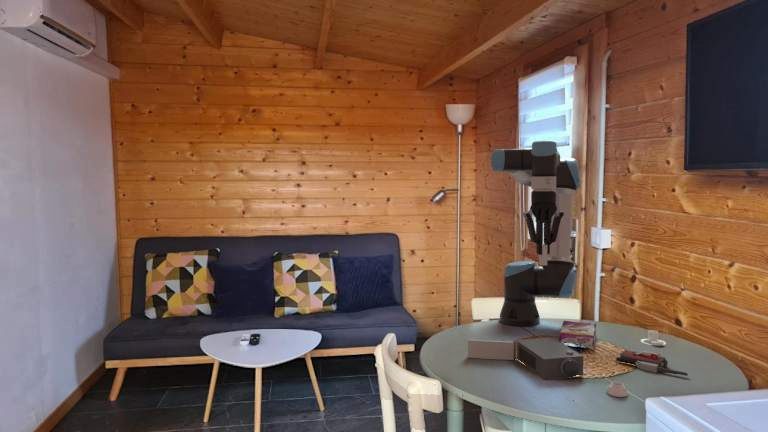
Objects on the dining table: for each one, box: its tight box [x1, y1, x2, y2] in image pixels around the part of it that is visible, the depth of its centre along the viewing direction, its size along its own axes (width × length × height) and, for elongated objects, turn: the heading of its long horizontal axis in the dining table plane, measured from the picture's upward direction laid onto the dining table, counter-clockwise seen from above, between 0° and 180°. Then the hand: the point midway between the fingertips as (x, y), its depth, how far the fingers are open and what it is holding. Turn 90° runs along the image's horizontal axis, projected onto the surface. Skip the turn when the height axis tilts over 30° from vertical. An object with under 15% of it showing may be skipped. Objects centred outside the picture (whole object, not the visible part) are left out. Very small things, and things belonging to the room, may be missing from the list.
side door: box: [467, 339, 517, 361], centre depth 176 cm, size 15×1×6 cm, turn 78°
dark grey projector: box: [516, 337, 584, 381], centre depth 167 cm, size 20×12×7 cm, turn 11°
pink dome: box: [606, 381, 629, 398], centre depth 148 cm, size 5×3×5 cm
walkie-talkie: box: [615, 349, 689, 377], centre depth 167 cm, size 9×4×20 cm
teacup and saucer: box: [639, 329, 667, 347], centre depth 191 cm, size 9×8×4 cm
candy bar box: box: [558, 320, 597, 350], centre depth 193 cm, size 11×5×16 cm
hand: (543, 264), depth 179 cm, fingers closed
